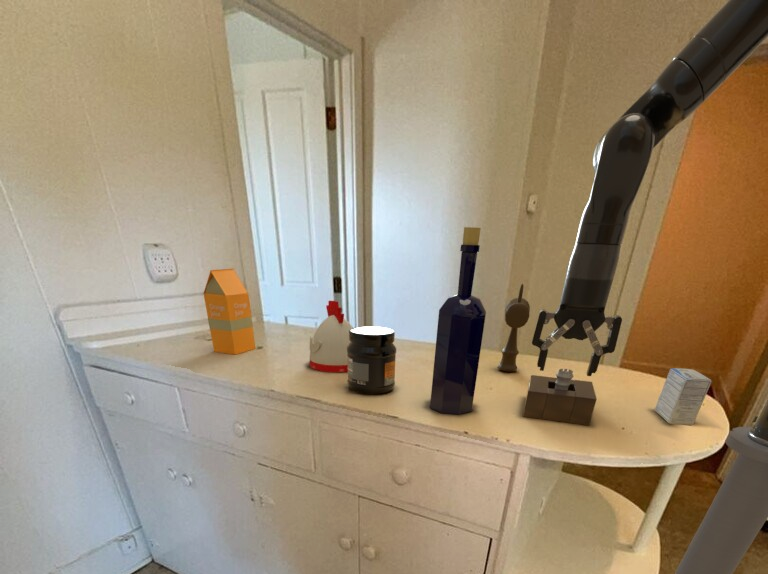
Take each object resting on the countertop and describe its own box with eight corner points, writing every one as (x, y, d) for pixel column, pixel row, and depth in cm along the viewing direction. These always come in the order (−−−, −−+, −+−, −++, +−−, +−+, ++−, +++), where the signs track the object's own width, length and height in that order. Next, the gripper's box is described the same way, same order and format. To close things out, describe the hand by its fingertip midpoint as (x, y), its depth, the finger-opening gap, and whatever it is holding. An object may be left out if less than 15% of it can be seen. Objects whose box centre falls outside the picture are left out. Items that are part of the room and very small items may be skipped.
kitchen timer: (348, 356, 118) (347, 296, 110) (373, 368, 108) (374, 303, 100) (301, 361, 112) (296, 298, 104) (323, 374, 102) (319, 306, 94)
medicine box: (693, 426, 80) (713, 380, 75) (667, 424, 81) (686, 378, 76) (676, 412, 86) (695, 369, 82) (653, 410, 87) (670, 367, 82)
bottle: (464, 398, 90) (487, 228, 74) (481, 413, 83) (511, 228, 66) (422, 400, 88) (436, 226, 72) (436, 415, 81) (455, 226, 64)
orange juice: (256, 348, 123) (245, 269, 112) (235, 354, 116) (222, 271, 105) (234, 345, 126) (222, 267, 115) (213, 351, 119) (198, 269, 108)
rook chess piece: (564, 416, 83) (576, 374, 78) (541, 411, 84) (551, 370, 80) (569, 410, 86) (580, 369, 81) (546, 405, 88) (556, 366, 83)
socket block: (585, 405, 88) (592, 381, 86) (588, 425, 79) (596, 399, 76) (526, 398, 91) (531, 374, 89) (522, 416, 82) (528, 390, 79)
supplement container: (402, 386, 96) (405, 329, 90) (380, 398, 88) (382, 337, 82) (362, 378, 100) (362, 324, 94) (338, 390, 92) (336, 331, 86)
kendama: (518, 367, 114) (535, 282, 103) (518, 376, 106) (536, 286, 95) (495, 364, 115) (509, 281, 104) (494, 374, 107) (509, 284, 96)
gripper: (545, 274, 71) (525, 373, 80) (639, 279, 67) (607, 382, 76) (546, 272, 77) (527, 363, 86) (632, 276, 73) (603, 372, 82)
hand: (565, 372), depth 81 cm, fingers open, 8 cm apart
